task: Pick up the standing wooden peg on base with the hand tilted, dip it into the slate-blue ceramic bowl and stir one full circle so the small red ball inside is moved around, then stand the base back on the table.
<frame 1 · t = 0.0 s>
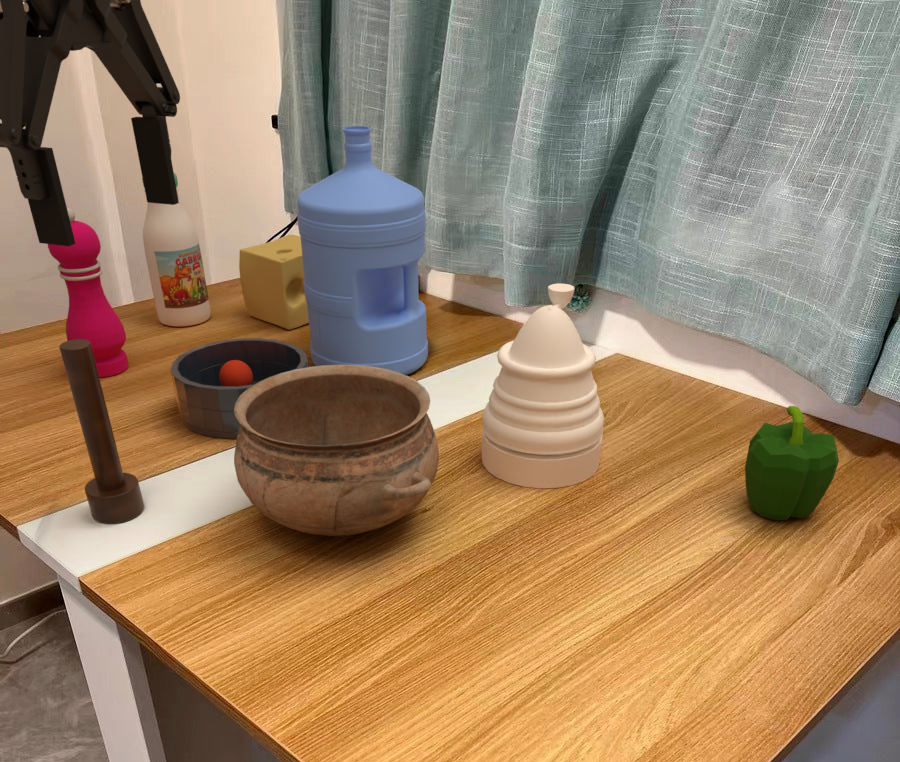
hand: (114, 222, 72), 27 cm above the table, tool pointing down, fingers open, 13 cm apart
honey pot: (540, 460, 97), on the table
cooking pot: (343, 520, 87), on the table
cheese: (293, 316, 134), on the table
water jug: (370, 362, 119), on the table
bell pepper: (778, 510, 88), on the table
milk bottle: (185, 320, 133), on the table
pepper mill: (104, 370, 117), on the table
ball: (236, 376, 108), point 3 cm above the table, touching bowl
bowl: (246, 409, 107), on the table
wooden peg on base: (118, 510, 88), on the table
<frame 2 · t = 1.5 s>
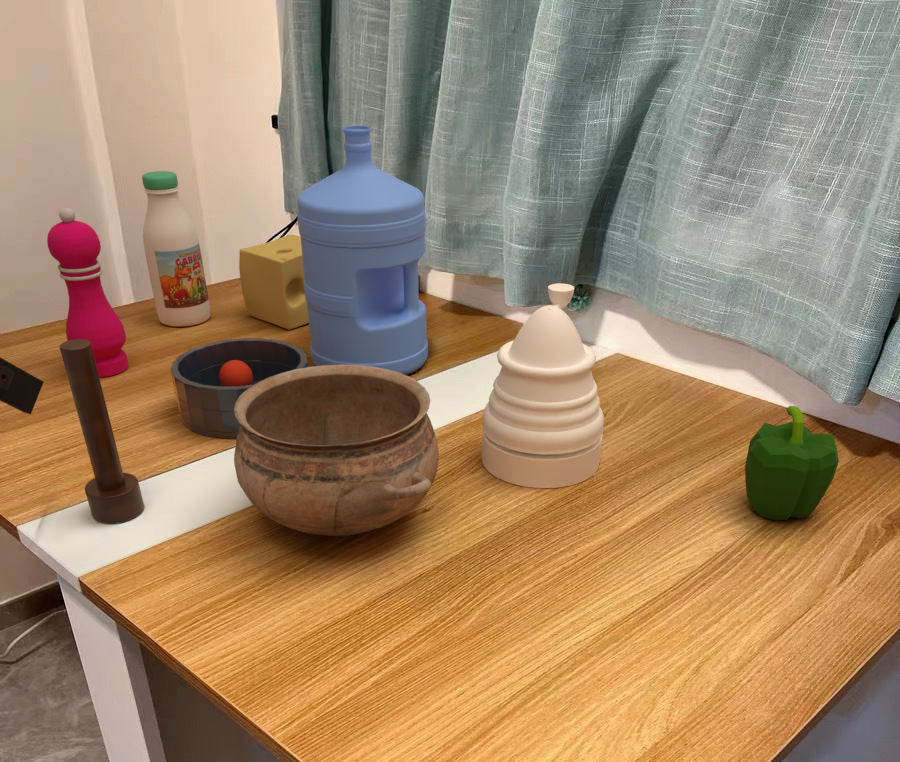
nothing on the table moved.
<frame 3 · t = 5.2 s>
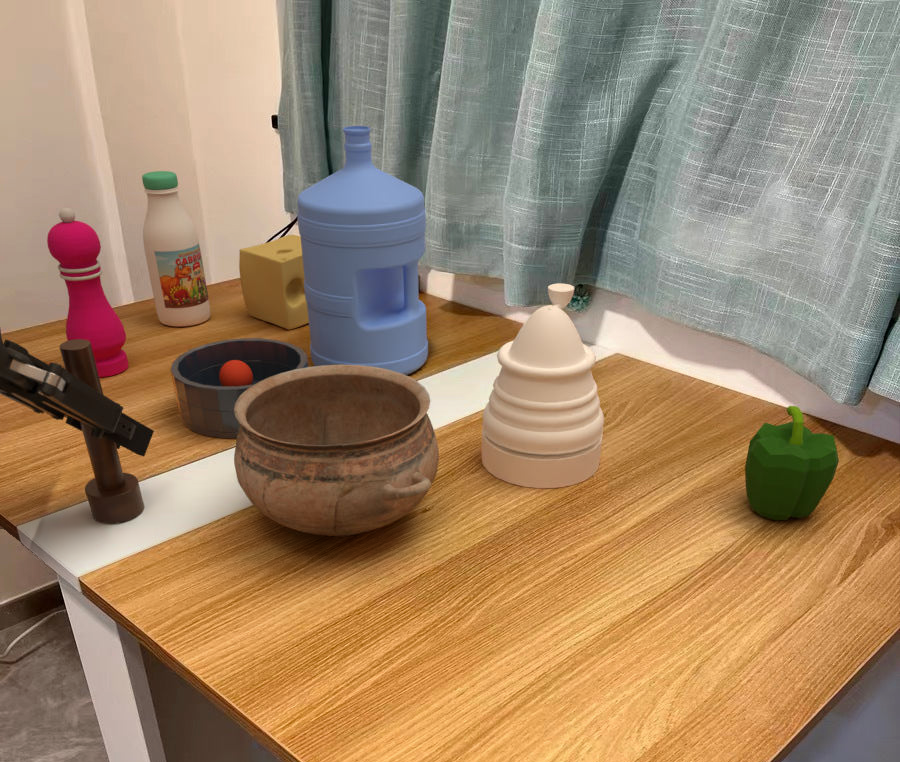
hand: (133, 439, 87), 6 cm above the table, tool tilted 45°, fingers closed on wooden peg on base, 3 cm apart
wooden peg on base: (118, 510, 88), on the table, touching gripper
everything else where it was.
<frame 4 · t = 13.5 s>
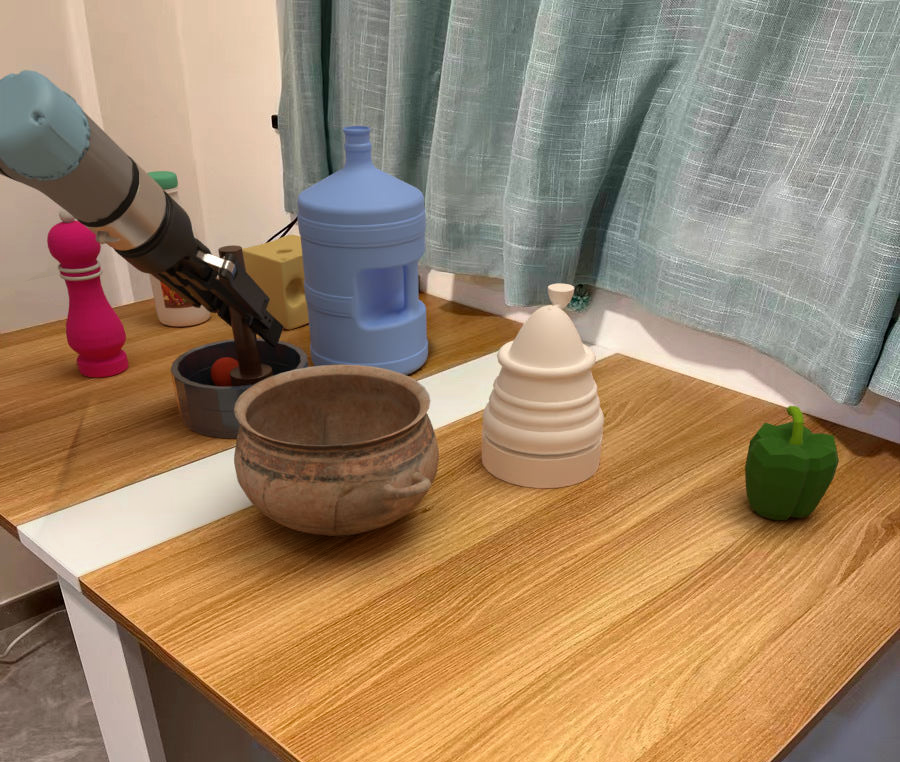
hand: (265, 333, 107), 7 cm above the table, tool tilted 45°, fingers closed on wooden peg on base, 3 cm apart
ball: (227, 374, 109), point 3 cm above the table, tilted 40°, touching bowl, wooden peg on base
wooden peg on base: (254, 394, 107), point 1 cm above the table, touching ball, gripper
everything else where it was.
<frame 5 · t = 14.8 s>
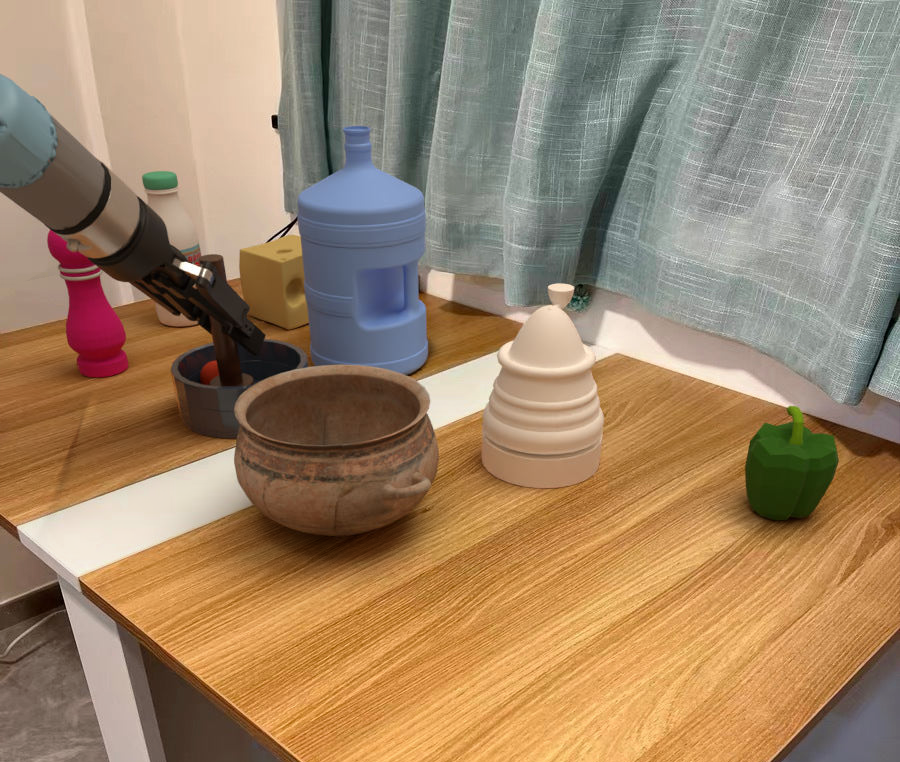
hand: (247, 342, 104), 8 cm above the table, tool tilted 45°, fingers closed on wooden peg on base, 3 cm apart
ball: (217, 377, 108), point 3 cm above the table, tilted 35°, touching bowl
wooden peg on base: (235, 404, 105), point 1 cm above the table, touching gripper
everything else where it was.
when the fingers open (6 cm above the table, at t = 24.6 s): wooden peg on base stays where it is, on the table.
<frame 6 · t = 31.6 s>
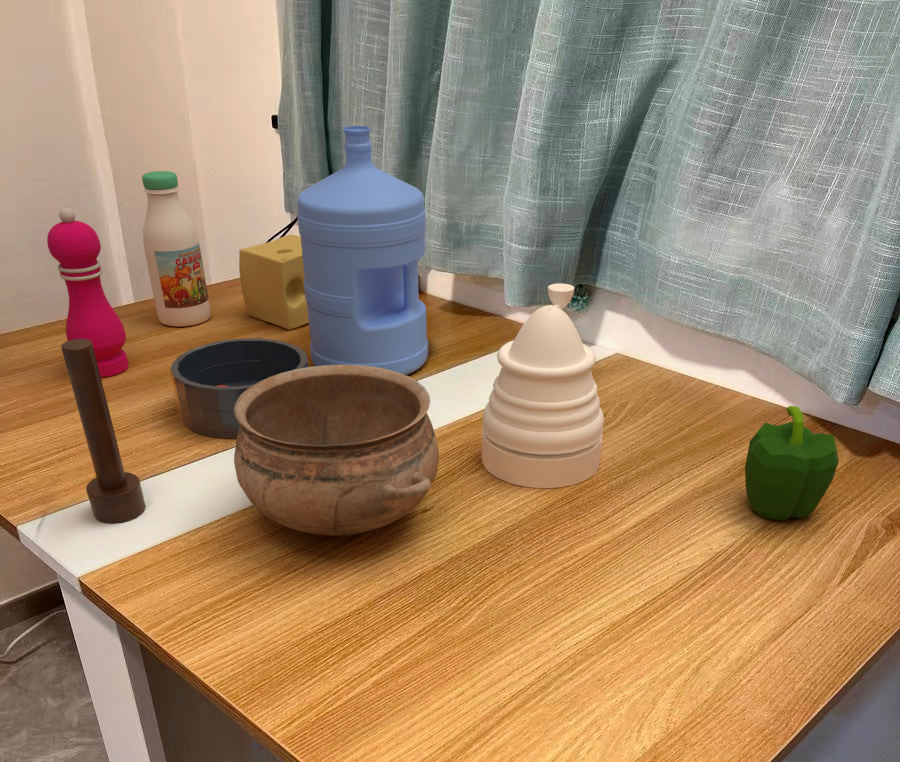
ball: (222, 403, 102), point 3 cm above the table, tilted 170°, touching bowl
wooden peg on base: (119, 510, 88), on the table
everything else where it was.
at the end: ball moved 7.6 cm from its start; ball inside the target area in the bowl (4.6 cm from its centre), point 2.8 cm above the bowl's base; wooden peg on base tilted 0° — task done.
